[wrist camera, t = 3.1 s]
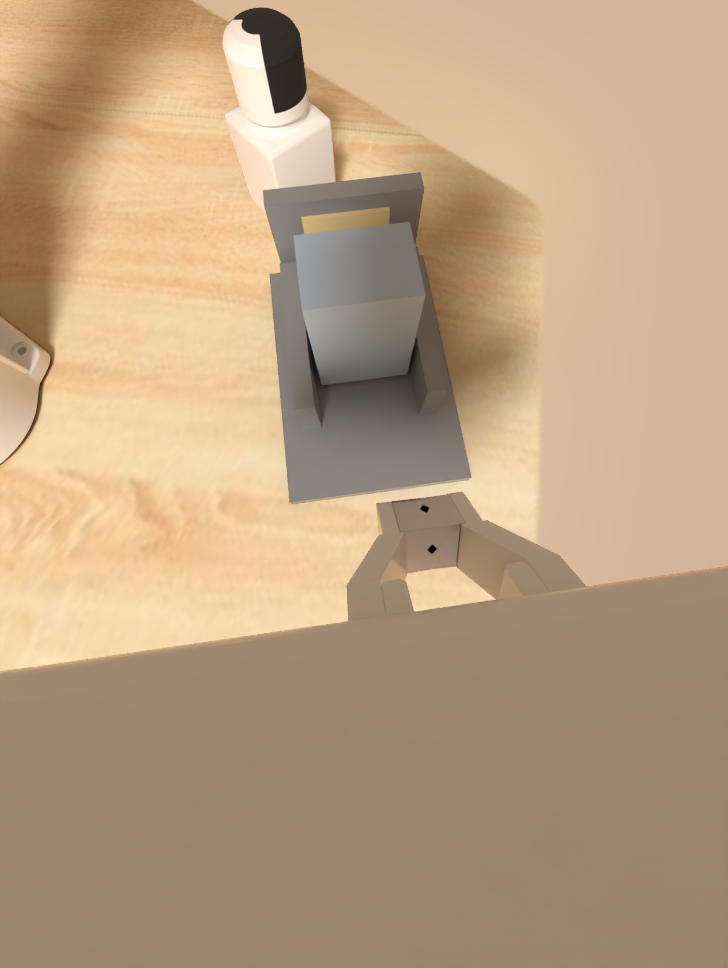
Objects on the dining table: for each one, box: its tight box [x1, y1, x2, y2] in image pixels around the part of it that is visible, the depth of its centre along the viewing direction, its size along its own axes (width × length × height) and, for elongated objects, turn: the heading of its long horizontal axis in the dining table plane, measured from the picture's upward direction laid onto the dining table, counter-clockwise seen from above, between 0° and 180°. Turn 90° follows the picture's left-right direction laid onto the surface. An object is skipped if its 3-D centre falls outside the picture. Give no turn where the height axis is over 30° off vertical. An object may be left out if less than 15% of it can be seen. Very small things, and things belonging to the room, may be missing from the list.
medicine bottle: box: [222, 8, 336, 214], centre depth 28 cm, size 7×7×12 cm
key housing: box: [263, 172, 471, 504], centre depth 25 cm, size 24×16×9 cm, turn 8°
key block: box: [293, 222, 425, 385], centre depth 24 cm, size 6×8×9 cm
